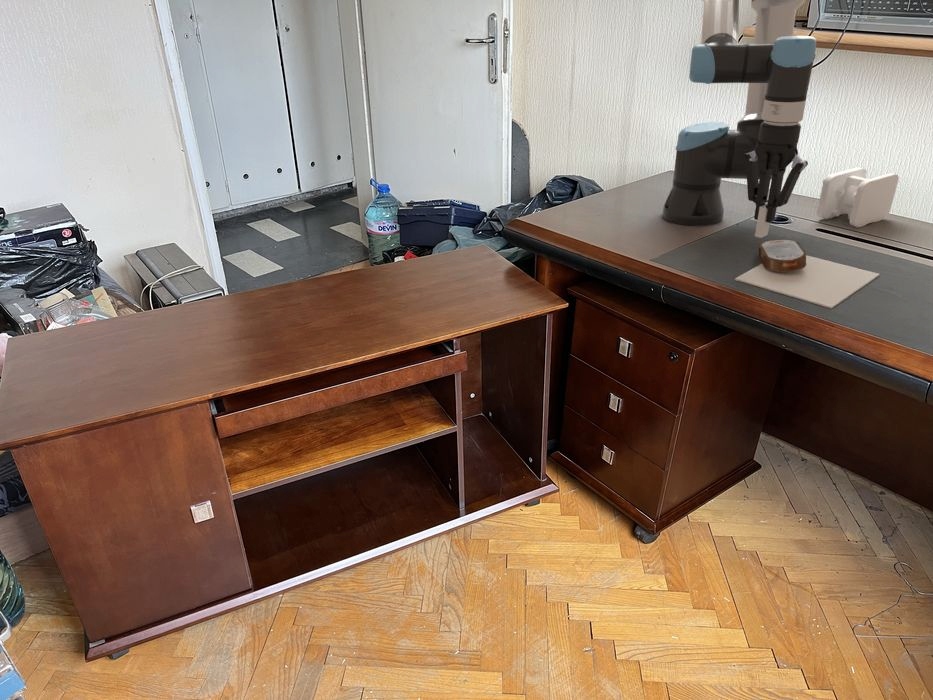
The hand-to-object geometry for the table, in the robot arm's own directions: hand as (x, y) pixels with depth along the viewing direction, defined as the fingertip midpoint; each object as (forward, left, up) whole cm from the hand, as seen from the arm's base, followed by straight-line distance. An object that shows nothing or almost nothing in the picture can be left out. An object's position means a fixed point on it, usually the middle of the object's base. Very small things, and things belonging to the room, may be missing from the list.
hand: (761, 235), depth 147 cm
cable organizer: (+2, +42, -7) cm, 43 cm away
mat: (+11, 0, -7) cm, 13 cm away
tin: (0, +1, -5) cm, 5 cm away
